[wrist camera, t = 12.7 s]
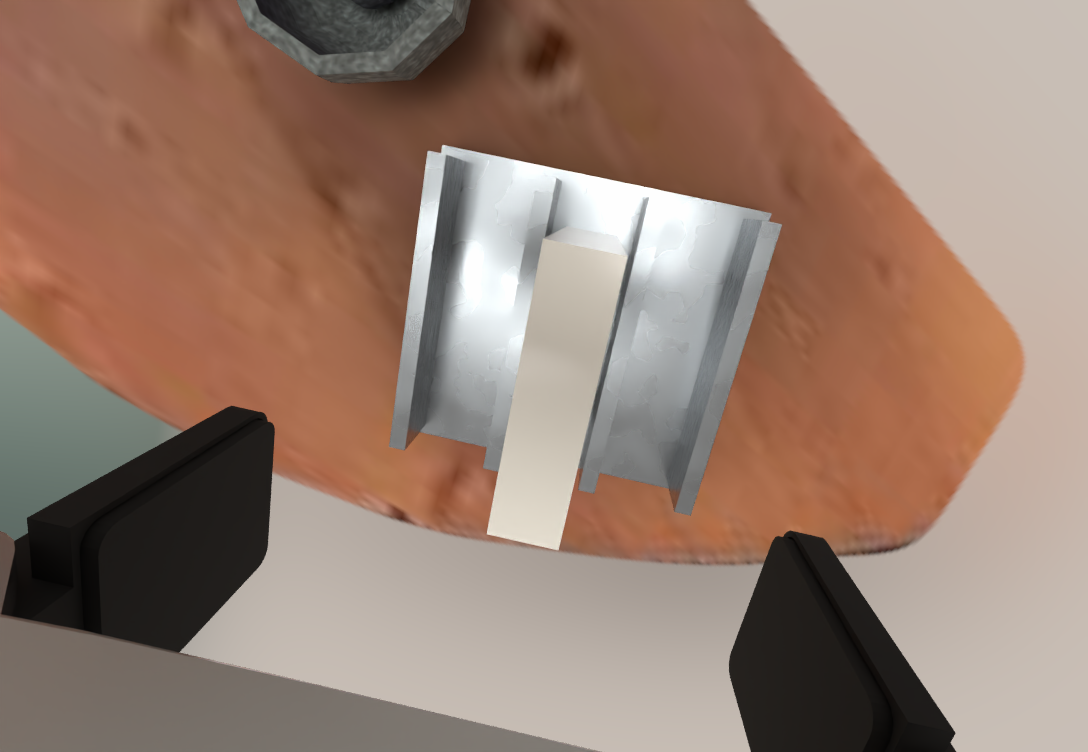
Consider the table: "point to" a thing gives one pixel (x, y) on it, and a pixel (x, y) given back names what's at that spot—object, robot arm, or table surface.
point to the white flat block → (556, 383)
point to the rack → (637, 328)
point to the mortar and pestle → (359, 34)
